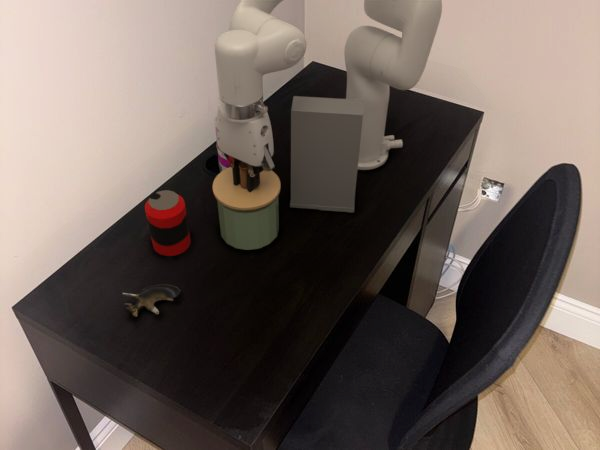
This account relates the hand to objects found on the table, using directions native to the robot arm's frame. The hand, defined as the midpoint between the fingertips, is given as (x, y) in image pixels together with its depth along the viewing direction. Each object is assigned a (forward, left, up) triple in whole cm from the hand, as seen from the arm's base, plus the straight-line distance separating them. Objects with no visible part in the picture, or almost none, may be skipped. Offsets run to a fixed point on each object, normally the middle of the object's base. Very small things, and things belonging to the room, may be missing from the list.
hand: (246, 184), depth 117 cm
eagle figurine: (+20, +17, -13) cm, 29 cm away
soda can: (+16, +1, -13) cm, 21 cm away
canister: (0, 0, -13) cm, 13 cm away
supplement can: (0, -21, -13) cm, 25 cm away
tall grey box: (-17, -6, -13) cm, 22 cm away
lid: (0, 0, -1) cm, 1 cm away
